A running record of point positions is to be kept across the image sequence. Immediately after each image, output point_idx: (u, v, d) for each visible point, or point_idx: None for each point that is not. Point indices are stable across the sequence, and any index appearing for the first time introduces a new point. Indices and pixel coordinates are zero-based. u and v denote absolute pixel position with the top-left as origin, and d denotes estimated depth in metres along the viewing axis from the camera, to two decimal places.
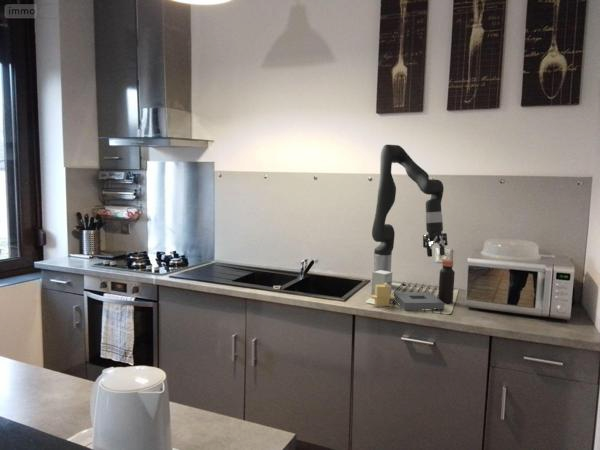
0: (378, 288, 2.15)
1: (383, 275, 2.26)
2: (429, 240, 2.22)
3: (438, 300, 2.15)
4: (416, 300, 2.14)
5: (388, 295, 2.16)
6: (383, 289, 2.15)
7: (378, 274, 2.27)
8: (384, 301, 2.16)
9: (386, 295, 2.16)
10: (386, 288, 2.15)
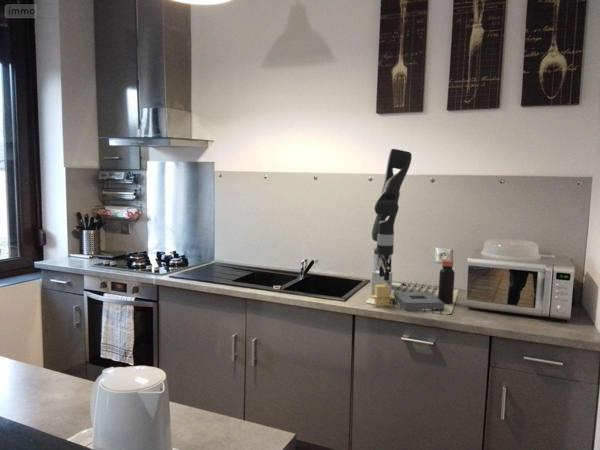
0: (378, 288, 2.15)
1: None
2: None
3: (438, 300, 2.15)
4: (416, 300, 2.14)
5: (388, 295, 2.16)
6: (383, 289, 2.15)
7: (378, 274, 2.27)
8: (384, 301, 2.16)
9: (386, 295, 2.16)
10: (386, 288, 2.15)
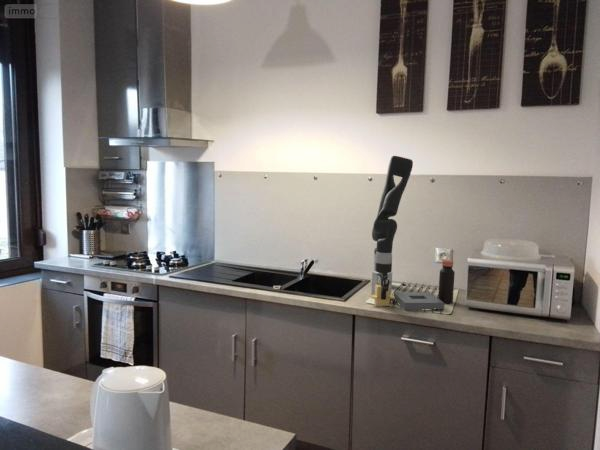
0: (378, 288, 2.15)
1: None
2: None
3: (438, 300, 2.15)
4: (416, 300, 2.14)
5: (388, 295, 2.16)
6: None
7: None
8: (384, 301, 2.16)
9: (386, 295, 2.16)
10: None
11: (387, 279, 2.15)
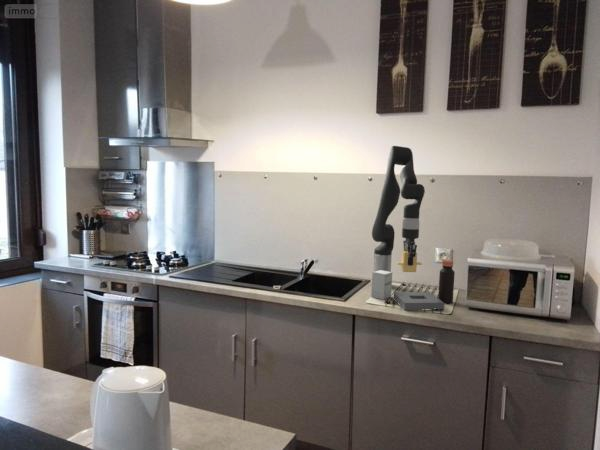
0: (405, 254, 2.14)
1: (383, 275, 2.26)
2: None
3: (438, 300, 2.15)
4: (416, 300, 2.14)
5: (415, 261, 2.15)
6: None
7: (378, 274, 2.27)
8: (411, 267, 2.15)
9: (413, 261, 2.15)
10: None
11: (414, 245, 2.14)
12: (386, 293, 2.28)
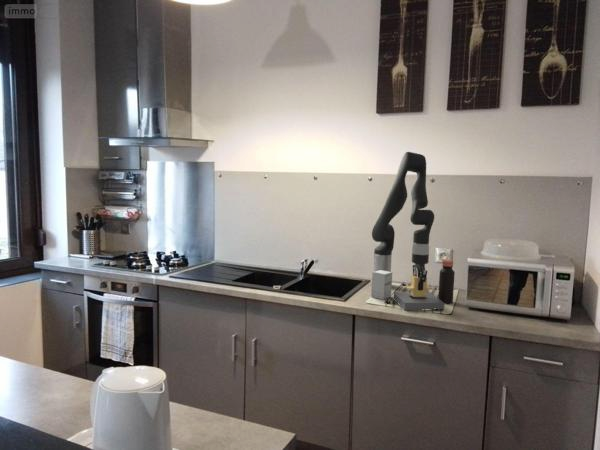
0: (415, 279, 2.16)
1: (383, 275, 2.26)
2: None
3: (438, 300, 2.15)
4: (416, 300, 2.14)
5: (425, 286, 2.17)
6: None
7: (378, 274, 2.27)
8: (421, 292, 2.17)
9: (423, 286, 2.17)
10: None
11: None
12: (386, 293, 2.28)
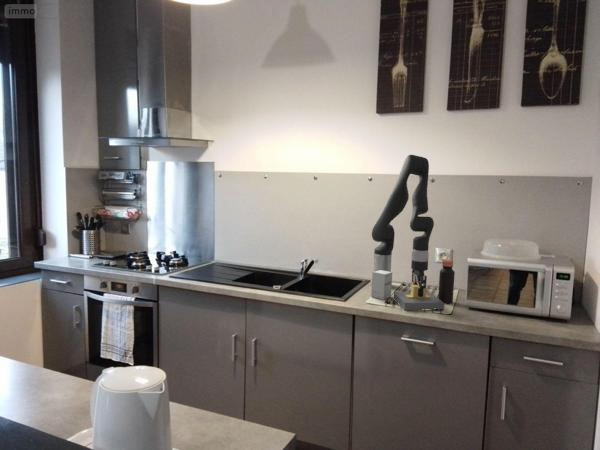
0: (414, 288, 2.17)
1: (383, 275, 2.26)
2: None
3: (438, 300, 2.15)
4: (416, 300, 2.14)
5: (424, 295, 2.17)
6: None
7: (378, 274, 2.27)
8: None
9: None
10: None
11: None
12: (386, 293, 2.28)
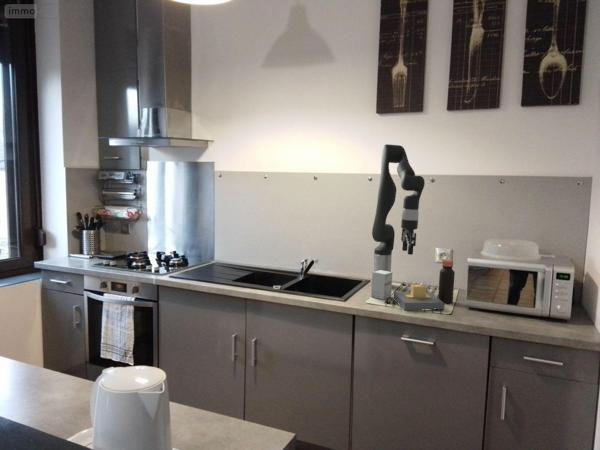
0: (414, 288, 2.17)
1: (383, 275, 2.26)
2: None
3: (438, 300, 2.15)
4: (416, 300, 2.14)
5: (424, 295, 2.17)
6: (419, 289, 2.17)
7: (378, 274, 2.27)
8: None
9: (422, 295, 2.17)
10: (422, 288, 2.17)
11: None
12: (386, 293, 2.28)
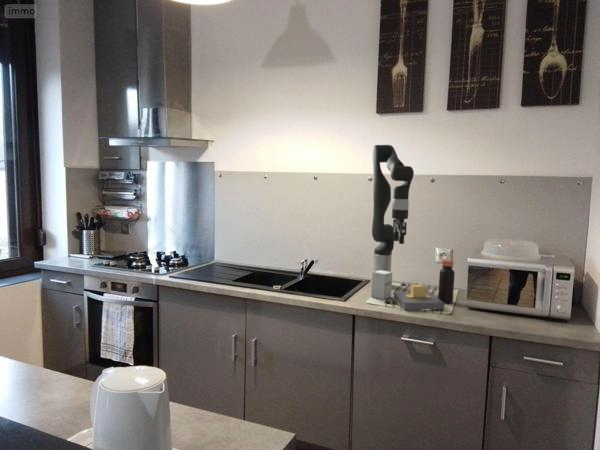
0: (414, 288, 2.17)
1: (383, 275, 2.26)
2: None
3: (438, 300, 2.15)
4: (416, 300, 2.14)
5: (424, 295, 2.17)
6: (419, 289, 2.17)
7: (378, 274, 2.27)
8: None
9: (422, 295, 2.17)
10: (422, 288, 2.17)
11: None
12: (386, 293, 2.28)
